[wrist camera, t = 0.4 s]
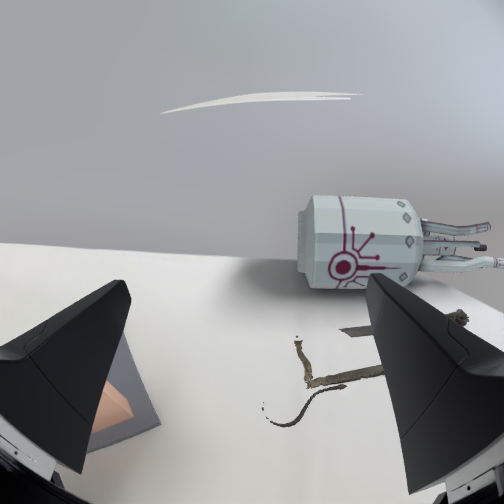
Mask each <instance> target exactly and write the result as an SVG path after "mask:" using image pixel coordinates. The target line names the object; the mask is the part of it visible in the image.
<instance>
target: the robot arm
mask: <svg viewBox="0 0 504 504" xmlns="http://www.w3.org/2000/svg"><path fill="white" fill-rule="evenodd" d="M366 302H367V307H368V312H369V317H370V322H371V327H372V332H373V336H374V339H375V343H376V346H377V349H378V353H379V356H380V359H381V363H382V366H383V370H384V374H385V377H386V381H387V385H388V389H389V393H390V397H391V401H392V405H393V409H394V413H395V418H396V422H397V427H398V432H399V437H400V443H401V448H402V453H403V459H404V465H405V472H406V478H407V486H408V492H409V495H410V494H413V493H416V492H419V491H422V490H425V489H428V488H430V487H433V486H435V485H438V484H440V483H443V482H445V485H446V490H447V491H446V492H444V493H441V494H439V495H438V497H437V498H436V500H435V501H434V503H433V504H504V352H503V351H501V350H499V349H498V348H496V347H495V346H493V345H491V344H490V343H488V342H486V341H485V340H483V339H481V338H480V337H478V336H476V335H475V334H473V333H472V332H470V331H468V330H467V329H465V328H464V327H462V326H461V325H459V324H458V323H456V322H455V321H453V320H452V319H451V318H448V316H446V315H445V314H443V313H442V312H440V311H439V310H437V309H436V308H434V307H433V306H431V305H430V304H428V303H427V302H425V301H424V300H422V299H421V298H419V297H418V296H416V295H415V294H413V293H412V292H410V291H409V290H407V289H406V288H404V287H403V286H401V285H399V284H398V283H396V282H395V281H393V280H392V279H390V278H388V277H387V276H385V275H384V274H382V273H371V274H370V275H369V277H368V283H367V288H366ZM130 305H131V296H130V293H129V290H128V288H127V285H126V283H125V281H124V280H113V281H111V282H110V283H108V284H106V285H104V286H103V287H101V288H99V289H97V290H96V291H94V292H92V293H91V294H89V295H87V296H85V297H84V298H82V299H80V300H79V301H77V302H75V303H74V304H72V305H70V306H69V307H67V308H65V309H64V310H62V311H60V312H59V313H57V314H55V315H54V316H52V317H50V318H49V319H48V320H46V321H44V322H42V323H41V324H39V325H37V326H36V327H34V328H32V329H31V330H29V331H27V332H26V333H24V334H22V335H20V336H18V337H17V338H15V339H13V340H11V341H10V342H8V343H6V344H4V345H2V346H0V504H93V503H90V502H88V501H86V500H84V499H82V498H80V497H78V496H76V495H74V494H72V493H70V492H68V491H66V490H65V488H64V486H63V484H62V481H61V479H60V476H59V473H57V472H55V471H54V469H55V466H56V463H58V464H60V465H62V466H64V467H66V468H68V469H70V470H72V471H74V472H76V473H78V474H81V473H82V470H83V466H84V461H85V456H86V452H87V448H88V444H89V439H90V435H91V432H92V427H93V424H94V420H95V416H96V413H97V409H98V406H99V402H100V399H101V396H102V393H103V389H104V386H105V383H106V380H107V377H108V374H109V371H110V368H111V365H112V362H113V359H114V356H115V354H116V351H117V348H118V345H119V343H120V340H121V337H122V334H123V330H124V327H125V323H126V319H127V316H128V312H129V309H130Z"/></svg>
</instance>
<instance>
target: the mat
mask: <svg viewBox="0 0 504 504" xmlns="http://www.w3.org/2000/svg"><path fill="white" fill-rule="evenodd" d="M107 381H108V382H109V383H110V384H111V385H112V386H113V387H114V388H115V389H116V390H117V391H118V392H120V393H121V394H122V395H123V396H124V397H125V398H126V399H127V400H128V403H129V406H130V408H131V411H132V413H133V416H134V417H132V418H130V419H128V420H125V421H123V422H120V423H118V424H116V425H113V426H111V427H108V428H105V429H103V430H100V431H98V432H95V433H92V434H91V435H90V439H89V444H88V448H87V452H86V453H89V452H92V451H95V450H98V449H101V448H104V447H107V446H110V445H112V444H115V443H118V442H120V441H123V440H125V439H128V438H130V437H133V436H135V435H138V434H140V433H143V432H145V431H147V430H150V429H152V428H154V427H156V426H159V425H161V422H160V420H159V418H158V416H157V414H156V412H155V410H154V408H153V405H152V403H151V401H150V399H149V397H148V394H147V392H146V390H145V387H144V385H143V383H142V380H141V378H140V375H139V373H138V370H137V368H136V365H135V363H134V360H133V358H132V355H131V352H130V349H129V347H128V344H127V341H126V338H125V335H124V332H123V334H122V337H121V340H120V343H119V345H118V348H117V351H116V354H115V356H114V359H113V362H112V365H111V368H110V371H109V374H108V377H107Z"/></svg>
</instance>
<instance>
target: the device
mask: <svg viewBox="0 0 504 504" xmlns="http://www.w3.org/2000/svg"><path fill="white" fill-rule="evenodd" d="M490 229H491V225H490V224H489V222H486V223H481V224H476V225H471V226H452V225H446V224H441V223H434V222H429V221H428V219H421V218H418V216H417V214H416V213H415V211H414V209H413V208H412V207H411V205H410V203H409V202H408V201H407V200H400V199H385V198H368V197H347V196H345V197H344V196H312V197H311V199H310V201H309V203H308V206H307V208H306V210H305V211H300V212H298V262H297V271H298V272H302V273H305V275H306V278H307V280H308V283H309V285H310V288H322V289H366V288H367V283H368V277H369V275H370V274H371V273H382V274H384V275H385V276H387V277H388V278H390V279H392V280H393V281H395V282H396V283H398V284H399V285H401V286H403V287H405V286H406V285H408V284H409V283H410V282H411V281H412V280H413V278H414V276H415V275H416V273H417V271H430V272H456V273H457V272H459V273H463V272H467V271H470V270H474V269H477V268H483V267H494V268H504V259H501V258H494V257H485V256H483V257H479V258H475V259H472V258H467V257H461V256H454V255H455V251H456V247H474V250H475V251H486V250H487V246H486V245H480V242H478V241H455V239H454V237H445V236H429V235H430V232H434V233H440V234H447V235H453V236H459V235H460V236H461V235H472V234H477V233H481V232H486V231H489V230H490ZM425 255H441V257H439V258H438V259H436V260H424V256H425Z"/></svg>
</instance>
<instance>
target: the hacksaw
mask: <svg viewBox="0 0 504 504" xmlns="http://www.w3.org/2000/svg"><path fill="white" fill-rule="evenodd" d="M446 316H448V318H451V319H452V320H453V321H455V322H456V323H458V324H459V325H461V326H462V327H463V326H465V325H466V323H467V322H469V319H467V318H469V317H467V314H466V313H464V311H462V309H458V310H457V312H453V313H449V314H446ZM339 330H341V331H342V332H345V333H346V334H348V335H349V336H350V337H359V336H369V335H373V332H372V327H371V326H370V325H369V326H362V327H354V328H353V327H352V328H344V329H339ZM296 338H298V336H296ZM302 341H303V340H301V341H294V342H295V344H296V345H297V353H298V356H299V358H300V360H301V361H302V363H303V365H304V368H305V376H304V380H305V381H308V382H306V383H307V386H308V387H307V388H306V389H309V388H310V387H311V388H315V387H318V386H320V385H323V386H326V385H331V384H339V383H345V382H351V381H355V380H358V379H359V380H360V379H361V378H369V377H376V376H380V375H385V374H384V370H383V366H382V365H377V366H372V367H367V368H363V369H358V370H353V371H348V372H343V373H339V374H336V375H328V376H326V377H324V378H323V377H322V378H321V377H319V378H316V379H314V380H311V379H312V378H313V376H312V374H311V373H312V369H311V364H310V362H309V361H308V359H307V358H306V357H305V355H304V354H303V352H302V351H301V349H302V346H301V344H302V343H301V342H302ZM296 345H295V346H296ZM309 379H310V381H309ZM309 383H310V384H309ZM345 387H347V386H346V385H343V384H340V385H338V386H334V387H329V388H327V389H323V390H319V391H318V392H316V393H314V394H313V396H311V397H310V399H309V400H308V402H307V403H306V404H305V406H304V407H303V409H302V411H301V413H300V414H299V416H298V417H297V418H296V419H295V420H294V421H292V422H290V423H286V424H277V423H275V422H274V423H273V421H270V422H271V423H273V424H274V425H277V426H280V427H290V426H292V425H295V424H296V423H297V422H299V421H300V419H301V418H302V417H303V415H304V413H305V411H306V409H307V407H308V405H309V404H310V402H311V401H312V399H313V398H314V397H315V396H316V395H317V394H319V393H322V392H324V391H329V390H337V389H340V390H341V389H344V388H345ZM263 403H264V402H263ZM262 411H264V408H263V407H262ZM266 418H267V417H266ZM267 419H268V418H267Z"/></svg>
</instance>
